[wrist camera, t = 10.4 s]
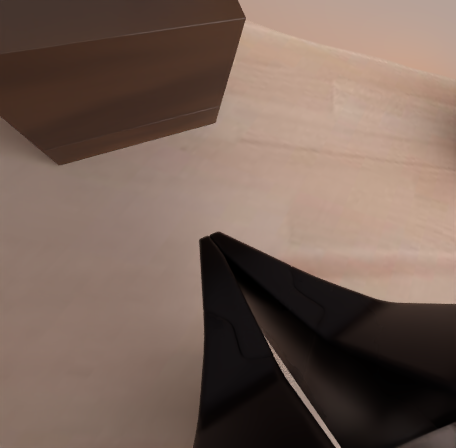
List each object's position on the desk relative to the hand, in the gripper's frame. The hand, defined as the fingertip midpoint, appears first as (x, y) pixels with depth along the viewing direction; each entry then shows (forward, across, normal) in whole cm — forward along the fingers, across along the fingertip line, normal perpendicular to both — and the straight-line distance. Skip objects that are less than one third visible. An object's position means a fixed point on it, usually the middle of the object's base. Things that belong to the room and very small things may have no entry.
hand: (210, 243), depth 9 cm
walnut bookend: (+20, 0, -4) cm, 20 cm away
